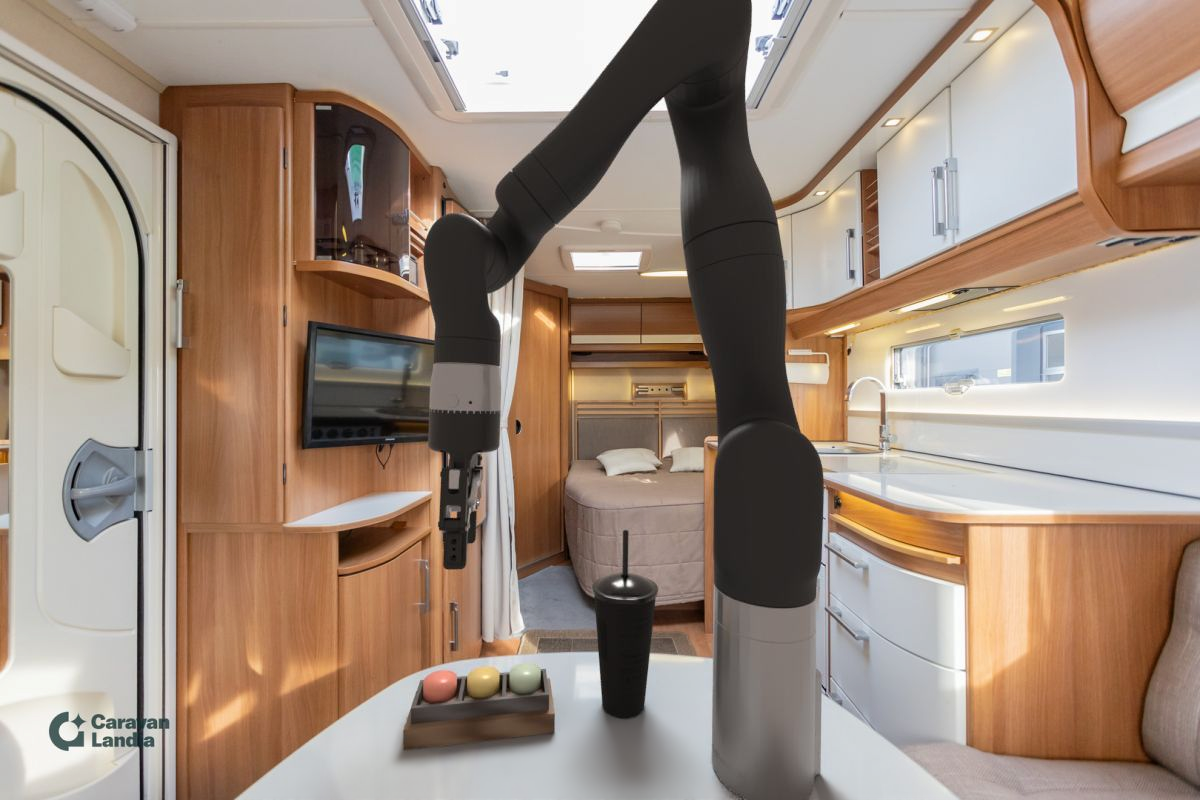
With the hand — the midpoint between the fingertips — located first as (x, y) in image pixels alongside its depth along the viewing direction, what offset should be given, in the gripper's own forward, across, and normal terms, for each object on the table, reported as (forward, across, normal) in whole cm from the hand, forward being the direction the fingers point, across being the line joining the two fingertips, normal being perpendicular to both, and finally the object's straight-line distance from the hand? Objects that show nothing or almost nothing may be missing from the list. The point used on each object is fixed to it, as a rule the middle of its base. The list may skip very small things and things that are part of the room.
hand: (460, 554), depth 52 cm
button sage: (+14, -1, -7) cm, 16 cm away
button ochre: (+14, -1, -3) cm, 15 cm away
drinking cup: (+18, 0, -19) cm, 26 cm away
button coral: (+15, -1, +2) cm, 15 cm away
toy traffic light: (+18, -1, -3) cm, 18 cm away
